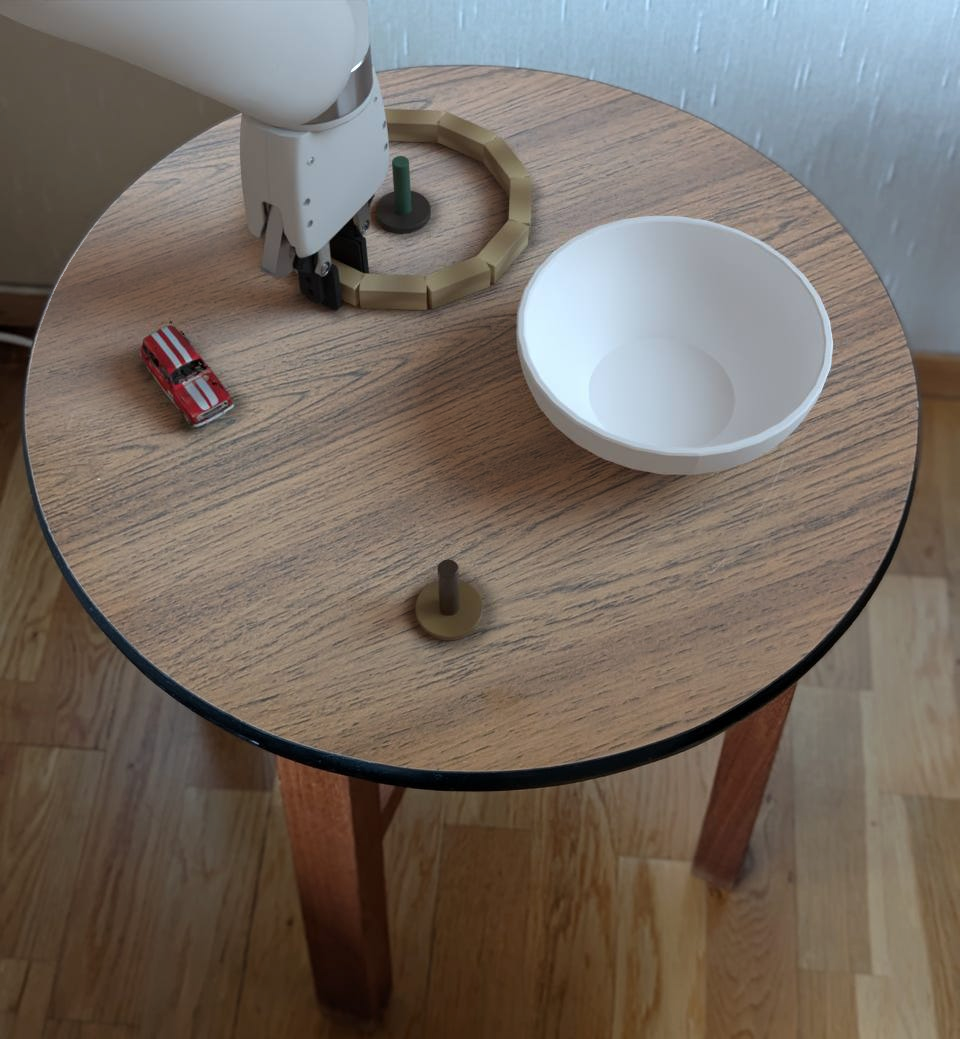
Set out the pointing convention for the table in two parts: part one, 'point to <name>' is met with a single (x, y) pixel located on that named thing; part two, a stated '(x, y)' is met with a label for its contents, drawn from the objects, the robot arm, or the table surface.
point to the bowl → (673, 344)
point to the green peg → (402, 203)
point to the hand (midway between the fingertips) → (335, 284)
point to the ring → (473, 271)
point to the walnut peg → (449, 605)
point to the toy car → (184, 376)
